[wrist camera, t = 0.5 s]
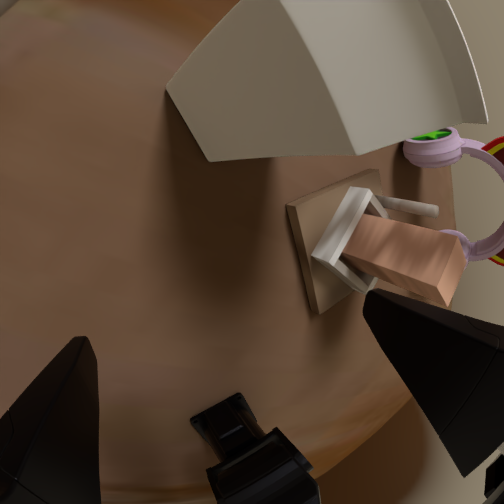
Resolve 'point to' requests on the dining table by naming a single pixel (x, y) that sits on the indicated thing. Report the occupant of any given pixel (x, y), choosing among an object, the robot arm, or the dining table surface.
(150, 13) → the dining table surface
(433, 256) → the peg
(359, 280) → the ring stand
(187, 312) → the dining table surface
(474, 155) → the headphones
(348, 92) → the milk carton
